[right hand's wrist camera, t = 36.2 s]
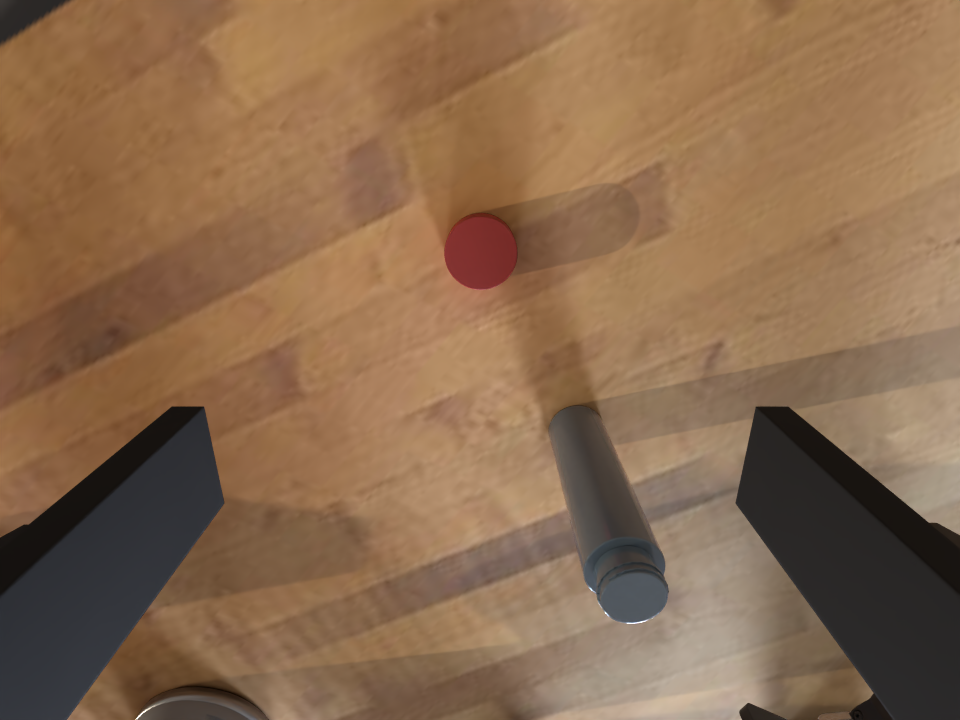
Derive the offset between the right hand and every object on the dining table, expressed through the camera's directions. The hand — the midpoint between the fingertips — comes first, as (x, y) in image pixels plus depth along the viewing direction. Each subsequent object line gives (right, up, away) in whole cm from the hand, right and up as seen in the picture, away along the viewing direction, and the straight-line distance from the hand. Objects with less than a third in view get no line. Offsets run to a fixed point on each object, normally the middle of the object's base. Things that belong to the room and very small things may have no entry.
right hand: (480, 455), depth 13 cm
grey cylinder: (+8, -4, +32) cm, 34 cm away
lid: (0, +10, +25) cm, 27 cm away
